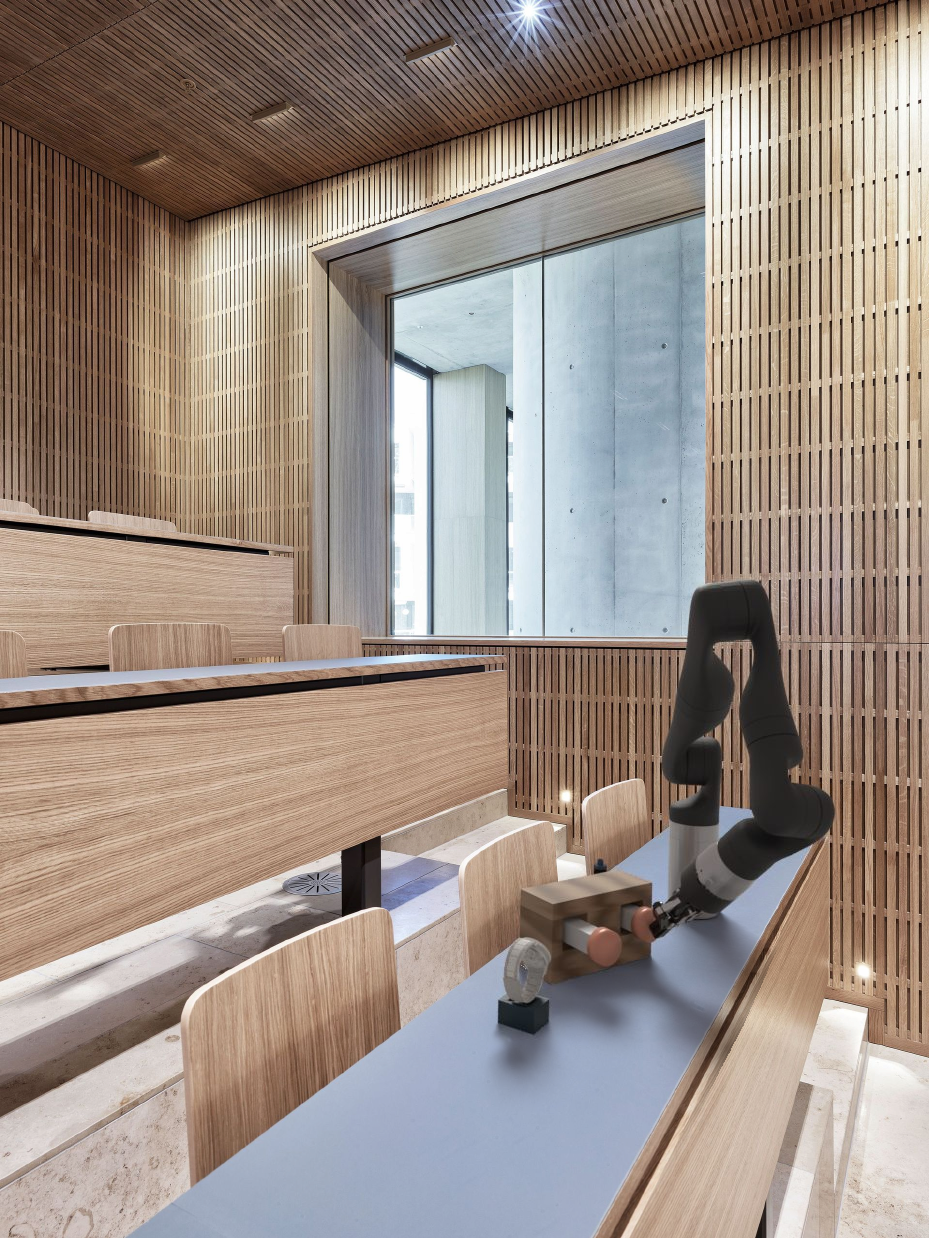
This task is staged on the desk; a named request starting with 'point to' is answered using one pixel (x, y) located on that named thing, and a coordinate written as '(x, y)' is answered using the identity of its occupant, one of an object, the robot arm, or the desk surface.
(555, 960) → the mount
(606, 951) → the knob
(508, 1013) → the watch
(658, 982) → the desk surface
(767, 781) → the robot arm
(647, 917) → the knob
